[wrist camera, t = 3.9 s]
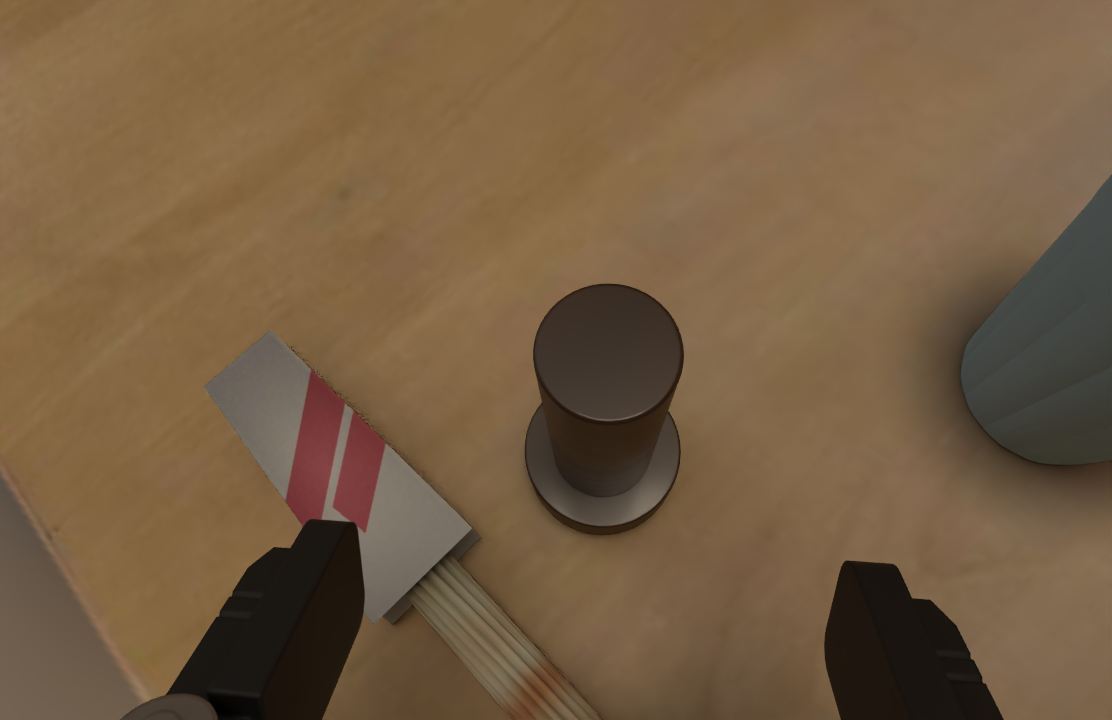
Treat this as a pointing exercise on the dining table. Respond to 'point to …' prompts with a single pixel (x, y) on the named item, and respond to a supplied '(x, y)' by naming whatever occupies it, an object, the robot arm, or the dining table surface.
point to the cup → (1051, 350)
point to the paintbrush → (384, 523)
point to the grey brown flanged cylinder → (605, 409)
